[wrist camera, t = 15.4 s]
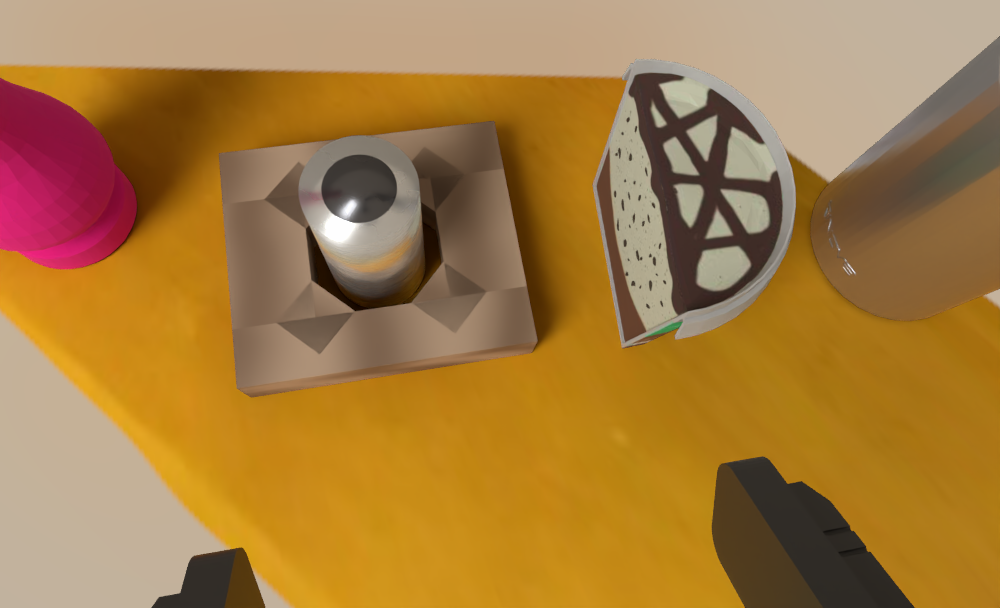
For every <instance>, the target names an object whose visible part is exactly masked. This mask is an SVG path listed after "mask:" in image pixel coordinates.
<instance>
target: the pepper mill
mask: <svg viewBox="0 0 1000 608" xmlns="http://www.w3.org/2000/svg"><path fill="white" fill-rule="evenodd" d="M136 212H137V200H136V195H135V191H134V189H133V186H132V184H131V183H130V181H129V180H128V178H127V177H126V176H125V174H124V173H123V172H122V171H121V170H120V169H119V168H118V167H117V166H116V165H115V164H114V161H113V157H112V153H111V151H110V149H109V147H108V144H107V142H106V141H105V139H104V138H103V136H102V134H101V133H100V132H99V131H98V130H97V129H96V128H95V127H94V126H93V125H92V124H91V123H90V122H89V121H88V120H87V119H85V118H84V117H83V116H82V115H81V114H80V113H78V112H77V111H76V110H74V109H73V108H72V107H70V106H68V105H66V104H64V103H62V102H61V101H59V100H57V99H55V98H53V97H51V96H49V95H46V94H44V93H41V92H38V91H35V90H31V89H28V88H25V87H22V86H18V85H15V84H12V83H10V82H8V81H5V80H3V79H2V78H0V249H4V250H7V251H17V252H19V253H21V254H22V255H24V256H25V257H27V258H28V259H30V260H32V261H33V262H35V263H38V264H40V265H43V266H46V267H49V268H55V269H74V268H80V267H84V266H87V265H90V264H93V263H96V262H98V261H100V260H102V259H103V258H105V257H107V256H108V255H110V254H111V253H112V252H114V251H115V250H116V249H117V248H118V247H119V246H120V245H121V244H122V243H123V242H124V241H125V239H126V238H127V236H128V234H129V232H130V230H131V228H132V227H133V224H134V221H135V217H136Z"/></svg>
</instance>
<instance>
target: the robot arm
mask: <svg viewBox="0 0 1000 608" xmlns="http://www.w3.org/2000/svg"><path fill="white" fill-rule="evenodd" d="M811 240H812V245H813V250H814V254H815V256H816V258H817V261H818V263H819V265H820V268H821V270H822V271H823V272H824V274H825V275H826V277H827V278H828V280H829V281H830V283H831V284H832V285H833V286H834V287H835V288H836V289H837V290H838V291H839V292H840V293H841V294H842V295H843V296H844V297H845V298H846V299H848V300H849V301H850V302H852V303H853V304H855V305H856V306H857V307H859V308H861V309H863V310H865V311H867V312H869V313H871V314H874V315H876V316H879V317H883V318H887V319H891V320H902V321H913V320H919V319H925V318H929V317H931V316H934V315H936V314H938V313H941V312H943V311H946V310H948V309H951V308H953V307H956V306H958V305H960V304H963V303H965V302H968V301H970V300H973V299H975V298H978V297H980V296H983V295H986V294H988V293H990V292H993V291H995V290H998V289H1000V36H999V37H998V38H997V39H996V40H995V41H994V42H992V43H991V44H990V45H989V46H988V47H987V48H985V49H984V50H983V51H982V52H981V53H980V54H979V55H977V56H976V57H975V58H974V59H973V60H972V61H970V62H969V63H968V64H967V65H966V66H965V67H963V69H961V70H960V71H959V72H958V73H957V74H955V75H954V76H953V77H952V78H951V79H950V80H948V81H947V82H946V83H945V84H944V85H943V86H942V87H941V88H939V89H938V90H937V91H936V92H935V93H933V94H932V95H931V96H930V97H929V98H928V99H926V100H925V101H924V102H923V103H922V104H921V105H919V107H917V108H916V109H915V110H914V111H913V112H911V113H910V114H909V115H908V116H907V117H906V118H905V119H903V120H902V121H901V122H900V123H899V124H897V125H896V126H895V127H894V128H893V129H892V130H891V131H889V132H888V133H887V134H886V135H885V136H884V137H882V138H881V139H880V140H879V141H878V142H877V143H876V144H874V145H873V146H872V147H871V148H869V149H868V150H867V151H866V152H865V153H864V154H863V155H861V156H860V157H859V158H858V159H857V160H856V161H854V162H853V163H852V164H851V165H850V166H849V167H848V168H846V169H845V170H844V171H843V172H842V173H841V174H839V175H838V176H837V177H836V178H835V179H834V180H833V181H831V182H830V184H829V185H828V186H827V187H826V188H825V189H824V190H823V191H822V192H821V194H820V196H819V198H818V200H817V202H816V203H815V205H814V209H813V213H812V217H811ZM712 535H713V541H714V545H715V549H716V552H717V555H718V558H719V560H720V562H721V564H722V566H723V568H724V570H725V572H726V573H727V575H728V577H729V579H730V581H731V582H732V584H733V586H734V588H735V590H736V592H737V593H738V595H739V597H740V599H741V601H742V603H743V604H744V606H745V608H914V606H913V605H912V604H911V603H910V601H909V600H908V599H907V598H906V596H905V595H904V594H903V593H902V591H901V590H900V589H899V587H898V586H897V585H896V584H895V582H894V581H893V580H892V579H891V577H890V576H889V575H888V574H887V572H886V571H885V570H884V569H883V567H882V566H881V565H880V563H879V562H878V561H877V560H876V558H875V557H874V556H873V555H872V553H871V552H868V551H867V550H866V546H865V545H864V543H863V542H862V541H861V539H860V538H859V537H858V536H857V534H856V533H855V532H854V531H851V530H850V526H849V524H848V523H847V522H846V521H845V519H844V518H843V517H842V515H841V514H840V513H839V512H838V510H837V509H836V508H835V507H834V505H833V504H832V503H831V502H830V501H829V500H828V499H826V498H825V497H823V496H822V495H821V494H819V493H818V492H816V491H815V490H813V489H812V488H810V487H809V486H807V485H806V484H804V483H803V482H802V481H801V482H796V483H790V484H787V483H786V481H785V480H784V479H783V477H782V476H781V475H780V473H779V472H778V471H777V469H776V468H775V467H774V465H773V464H772V463H771V462H770V460H768V459H767V458H765V457H757V458H751V459H746V460H740V461H734V462H729V463H723V464H721V465H720V466H719V468H718V472H717V480H716V490H715V500H714V510H713V520H712ZM152 608H265V604H264V602H263V599H262V597H261V593H260V590H259V588H258V585H257V582H256V579H255V576H254V574H253V571H252V568H251V565H250V562H249V560H248V557H247V554H246V552H245V550H244V549H243V548H236V549H230V550H224V551H219V552H213V553H207V554H202V555H196V556H193V557H192V558H191V560H190V562H189V564H188V567H187V570H186V574H185V578H184V582H183V585H182V589H181V593H179V594H174V595H169V596H163V597H159V598H158V599H157V601H156V602H155V604H154V605H153V606H152Z"/></svg>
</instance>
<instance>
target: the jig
mask: <svg viewBox="0 0 1000 608" xmlns="http://www.w3.org/2000/svg"><path fill="white" fill-rule="evenodd" d="M371 136H372V137H377V138H380V139H383V140H385V141H388V142H390V143H392V144H393V145H395V146H397V147H398V148H399V149H400V150H402V151H403V152H404V153H405V154H406V155H407V156H408V158H409V159H410V160H411V162H412V164H413V165H414V167H415V170H416V172H417V175H418V179H419V188H420V201H421V214H422V222H423V223H425V224H426V225H428V226H429V227H431V228H432V229H434V230H435V231H436V233H437V239H438V245H439V252H440V258H441V265H440V267H439V268H438V269H437V271H436V272H435V273H434V274H433V276H432V277H431V278H430V279H429V281H428V282H427V283H426V285H425V286H424V287H423V288H422V290H421V291H420V292H419V294H418V295H417V296H416V297H415V299H414V300H413V301H412V302H411V303H409V304H402V305H395V306H389V307H382V308H375V309H368V310H361V311H354V310H353V309H351V308H350V307H348V306H347V305H346V304H344V303H343V302H341V301H340V300H339V299H337V298H336V297H334V296H333V295H332V294H330V293H329V292H327V291H326V290H325V289H323V288H322V287H320V286H319V284H318V275H317V266H316V257H315V249H314V247H315V246H316V245H317V244H318V243H317V241H316V239H315V236H314V234H313V232H312V230H311V228H310V226H309V223H308V221H307V219H306V217H305V215H304V213H303V211H302V208H301V205H300V200H299V181H300V177H301V174H302V172H303V169H304V167H305V166H306V164H307V162H308V161H309V160H310V158H311V157H312V156H313V155H314V154H315V153H316V152H317V151H318V150H319V149H321V148H322V147H323V146H325V145H327V144H329V143H330V142H333V141H335V140H328V141H320V142H311V143H303V144H294V145H286V146H277V147H269V148H260V149H252V150H244V151H235V152H227V153H219V162H220V175H221V188H222V201H223V214H224V227H225V240H226V253H227V266H228V279H229V292H230V305H231V318H232V331H233V344H234V357H235V370H236V383H237V389H239V390H240V391H242V392H243V393H245V394H247V395H248V396H250V397H257V396H263V395H269V394H276V393H282V392H288V391H295V390H301V389H307V388H313V387H320V386H326V385H332V384H339V383H345V382H351V381H357V380H364V379H370V378H376V377H383V376H389V375H395V374H401V373H408V372H414V371H420V370H427V369H433V368H439V367H445V366H452V365H458V364H464V363H471V362H477V361H483V360H489V359H496V358H502V357H508V356H515V355H521V354H527V353H532V351H533V349H534V347H535V345H536V343H537V342H538V340H537V335H536V330H535V325H534V320H533V315H532V310H531V305H530V300H529V295H528V290H527V285H526V279H525V274H524V269H523V264H522V259H521V254H520V249H519V244H518V239H517V234H516V229H515V224H514V219H513V214H512V208H511V203H510V198H509V193H508V188H507V183H506V178H505V173H504V168H503V163H502V158H501V153H500V148H499V143H498V137H497V132H496V127H495V122H494V121H489V122H481V123H472V124H464V125H455V126H447V127H438V128H430V129H421V130H413V131H404V132H396V133H387V134H379V135H371Z"/></svg>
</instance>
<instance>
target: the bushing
mask: <svg viewBox="0 0 1000 608" xmlns="http://www.w3.org/2000/svg"><path fill="white" fill-rule="evenodd" d="M299 200H300V205H301V208H302V211H303V213H304V215H305V217H306V219H307V221H308V223H309V226H310V228H311V230H312V232H313V234H314V236H315V239H316V241H317V243H318V245H319V247H320V249H321V252H322V254H323V256H324V258H325V260H326V262H327V265H328V267H329V269H330V271H331V273H332V275H333V277H334V280H335V282H336V284H337V286H338V288H339V289H340V291H341V292H342V293H343V294H344V295H345V296H346V297H347V298H348V299H349V300H351V301H352V302H354V303H356V304H358V305H360V306H363V307H366V308H372V309H375V308H382V307H389V306H395V305H398V304H400V303H402V302H404V301H405V300H407V299H408V298H409V297H411V296H412V295H413V294H414V293H415V292H416V290H417V289H418V287H419V286H420V284H421V282H422V280H423V277H424V273H425V252H424V239H423V227H422V214H421V201H420V188H419V179H418V175H417V172H416V170H415V167H414V165H413V164H412V162H411V160H410V159H409V158H408V156H407V155H406V154H405V153H404V152H403V151H402V150H400V149H399V148H398V147H397V146H395V145H393V144H392V143H390V142H388V141H385V140H383V139H380V138H377V137H372V136H362V135H359V136H349V137H344V138H340V139H337V140H335V141H333V142H330V143H329V144H327V145H325V146H323V147H322V148H321V149H319V150H318V151H317V152H316V153H315V154H314V155H313V156H312V157H311V158H310V160H309V161H308V162H307V164H306V166H305V167H304V169H303V172H302V174H301V177H300V181H299Z"/></svg>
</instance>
